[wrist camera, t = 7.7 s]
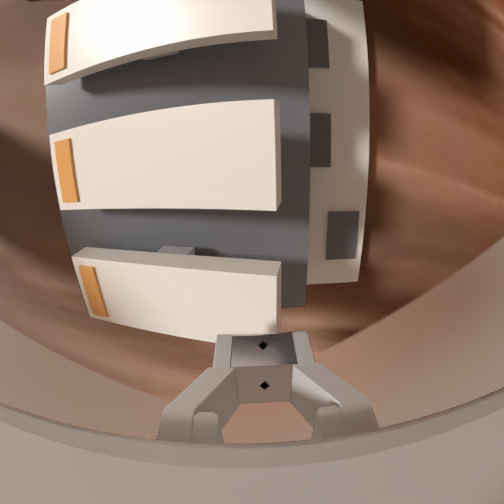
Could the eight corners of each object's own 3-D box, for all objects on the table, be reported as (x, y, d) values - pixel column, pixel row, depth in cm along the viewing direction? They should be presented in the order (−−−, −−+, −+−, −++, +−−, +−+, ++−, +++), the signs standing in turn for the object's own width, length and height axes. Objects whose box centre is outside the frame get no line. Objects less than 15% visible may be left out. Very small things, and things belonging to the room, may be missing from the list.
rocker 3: (285, 249, 13) (275, 278, 11) (284, 317, 14) (275, 353, 12) (99, 238, 15) (69, 257, 13) (113, 294, 17) (88, 318, 14)
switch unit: (357, 5, 14) (388, -22, 9) (353, 274, 21) (377, 314, 17) (59, 37, 14) (17, 25, 9) (90, 282, 21) (61, 319, 17)
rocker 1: (276, -26, 8) (267, -54, 6) (281, 46, 10) (272, 28, 7) (78, 24, 10) (45, 17, 8) (77, 85, 12) (42, 85, 9)
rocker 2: (284, 103, 11) (273, 98, 8) (285, 193, 12) (275, 212, 10) (83, 128, 13) (46, 135, 10) (91, 195, 14) (58, 211, 12)
